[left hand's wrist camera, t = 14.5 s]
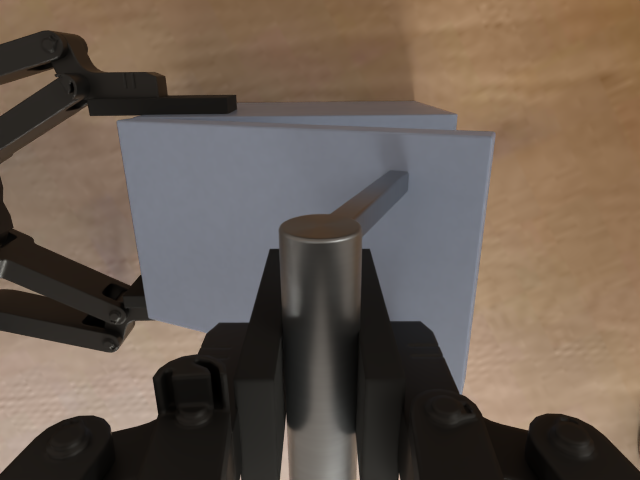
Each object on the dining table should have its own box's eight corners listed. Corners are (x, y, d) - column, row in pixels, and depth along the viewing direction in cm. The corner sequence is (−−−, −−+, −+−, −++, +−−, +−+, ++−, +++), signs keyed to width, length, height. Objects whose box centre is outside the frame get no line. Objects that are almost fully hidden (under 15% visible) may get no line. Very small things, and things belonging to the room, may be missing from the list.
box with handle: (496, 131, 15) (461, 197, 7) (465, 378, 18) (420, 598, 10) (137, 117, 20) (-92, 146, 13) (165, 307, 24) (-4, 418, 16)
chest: (415, 100, 29) (458, 114, 20) (406, 240, 32) (439, 303, 24) (188, 103, 29) (132, 117, 20) (203, 242, 32) (160, 306, 24)
